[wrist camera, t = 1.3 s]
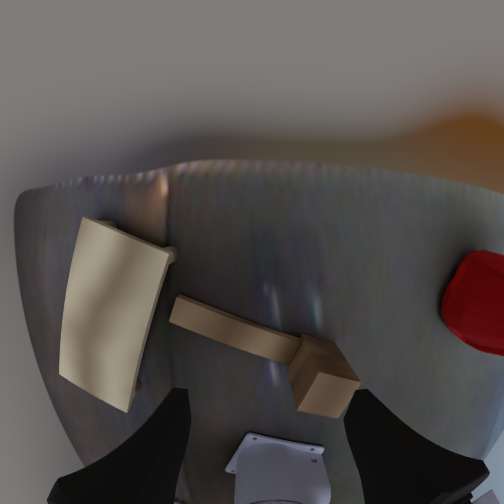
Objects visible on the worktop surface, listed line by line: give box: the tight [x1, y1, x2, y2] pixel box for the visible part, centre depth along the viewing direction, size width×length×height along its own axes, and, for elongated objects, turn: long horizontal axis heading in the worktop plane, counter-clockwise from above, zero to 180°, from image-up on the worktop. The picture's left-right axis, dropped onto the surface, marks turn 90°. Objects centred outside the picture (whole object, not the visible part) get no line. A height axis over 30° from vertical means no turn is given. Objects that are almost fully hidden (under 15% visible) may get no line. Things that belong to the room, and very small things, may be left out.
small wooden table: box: [59, 217, 179, 413], centre depth 21 cm, size 8×16×4 cm, turn 159°
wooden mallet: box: [169, 294, 361, 418], centre depth 20 cm, size 15×4×7 cm, turn 69°
